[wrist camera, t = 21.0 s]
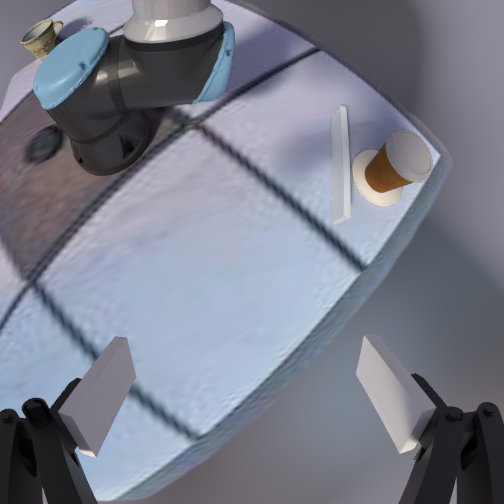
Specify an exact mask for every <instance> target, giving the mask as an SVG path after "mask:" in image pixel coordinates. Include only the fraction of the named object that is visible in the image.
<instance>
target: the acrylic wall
mask: <svg viewBox="0 0 504 504" xmlns="http://www.w3.org/2000/svg"><path fill="white" fill-rule="evenodd" d="M331 141H332V209H331V224H339V223H341V222H343V221H345V220H346V219H348V218H350V158H349V139H348V125H347V112H346V107H344V106H341V105H340V106H339V108H338V109H337V111H336V112H335V114H334V115H333V116H332V118H331Z"/></svg>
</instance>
